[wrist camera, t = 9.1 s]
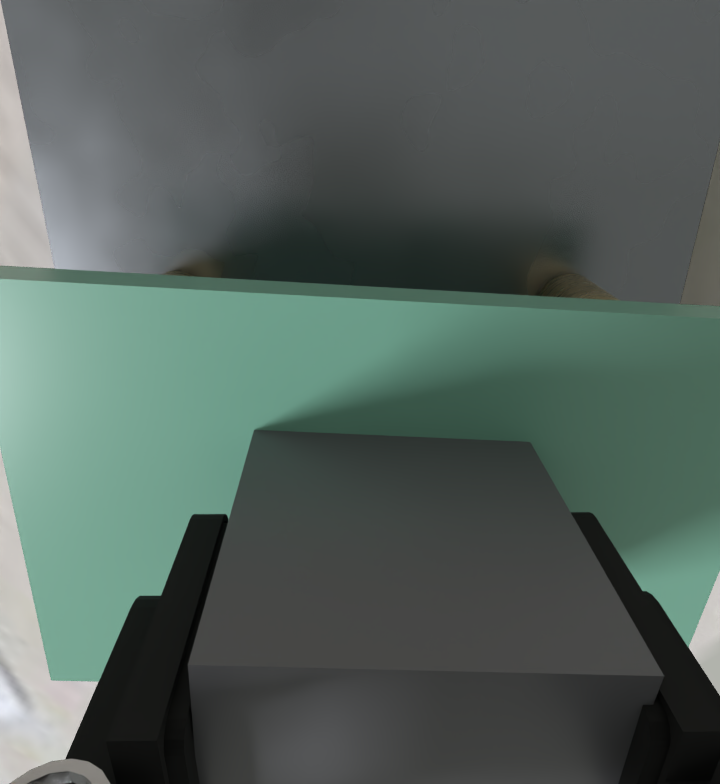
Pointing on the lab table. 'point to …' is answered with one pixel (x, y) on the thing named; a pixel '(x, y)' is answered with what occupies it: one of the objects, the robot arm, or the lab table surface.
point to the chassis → (375, 140)
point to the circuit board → (334, 364)
